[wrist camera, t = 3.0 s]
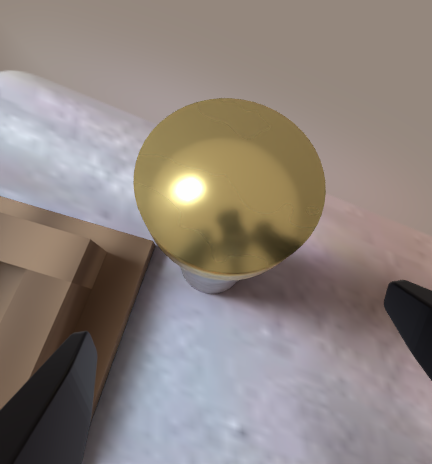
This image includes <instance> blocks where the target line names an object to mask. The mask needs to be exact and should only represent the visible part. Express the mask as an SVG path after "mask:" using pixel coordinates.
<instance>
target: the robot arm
mask: <svg viewBox="0 0 432 464" xmlns="http://www.w3.org/2000/svg"><path fill="white" fill-rule="evenodd" d="M384 307H385V310H386V311H387V313H388V315H389V316H390V318H391V320H392V321H393V323H394V325H395V326H396V328H397V330H398V331H399V333H400V335H401V336H402V338H403V340H404V341H405V343H406V345H407V346H408V348H409V350H410V351H411V353H412V354H413V356H414V357H415V359H416V360H417V361H418V363H419V364H420V366H421V367H422V368H423V370H424V371H425V372H426V374H427V375H428V376H429V378H430V379H431V381H432V291H431V290H428V289H426V288H423V287H421V286H419V285H416V284H414V283H411V282H409V281H406V280H398V281H392V282H390V283H389V285H388V288H387V292H386V295H385V299H384ZM96 367H97V350H96V348H95V345H94V342H93V340H92V337H91V335H90V333H89V332H88V331H81V332H75V333H72V334H71V335H70V336H69V337H68V338H67V339H66V340H65V341H64V342H63V343H62V344H61V345H60V347H59V348H58V349H57V350H56V351H55V352H54V353H53V354H52V355H51V356H50V357H49V358H48V359H47V360H46V361H45V363H44V364H43V365H42V366H41V367H40V368H39V369H38V370H37V371H36V372H35V373H34V374H33V375H32V376H31V378H30V379H29V380H28V381H27V382H26V383H25V384H24V385H23V386H22V387H21V388H20V389H19V390H18V391H17V393H16V394H15V395H14V396H13V397H12V398H11V399H10V400H9V401H8V402H7V403H6V404H5V405H4V406H3V407H2V409H1V410H0V464H82V459H83V454H84V450H85V445H86V440H87V435H88V431H89V426H90V420H91V415H92V407H93V397H94V387H95V377H96Z"/></svg>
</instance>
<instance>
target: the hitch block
mask: <svg viewBox="0 0 432 464" xmlns="http://www.w3.org/2000/svg"><path fill="white" fill-rule="evenodd" d="M154 247H155V244H154V242H153V241H151V240H147V239H144V238H140V237H137V236H134V235H130V234H127V233H123V232H120V231H117V230H113V229H110V228H106V227H103V226H100V225H96V224H93V223H89V222H86V221H83V220H79V219H76V218H72V217H69V216H66V215H62V214H59V213H55V212H52V211H49V210H45V209H42V208H39V207H35V206H32V205H28V204H25V203H22V202H18V201H15V200H11V199H8V198H5V197H1V196H0V410H1V409H2V407H3V406H4V405H5V404H6V403H7V402H8V401H9V400H10V399H11V398H12V397H13V396H14V395H15V394H16V393H17V391H18V390H19V389H20V388H21V387H22V386H23V385H24V384H25V383H26V382H27V381H28V380H29V379H30V378H31V376H32V375H33V374H34V373H35V372H36V371H37V370H38V369H39V368H40V367H41V366H42V365H43V364H44V363H45V361H46V360H47V359H48V358H49V357H50V356H51V355H52V354H53V353H54V352H55V351H56V350H57V349H58V348H59V347H60V345H61V344H62V343H63V342H64V341H65V340H66V339H67V338H68V337H69V336H70V335H71V334H72V333H75V332H81V331H88V332H89V333H90V335H91V337H92V340H93V342H94V345H95V348H96V350H97V367H96V377H95V387H94V397H93V407H92V415H91V420H92V417H93V415H94V412H95V409H96V406H97V404H98V401H99V398H100V395H101V393H102V390H103V387H104V384H105V382H106V379H107V376H108V373H109V371H110V368H111V365H112V362H113V360H114V357H115V354H116V351H117V349H118V346H119V343H120V340H121V338H122V335H123V332H124V329H125V327H126V324H127V321H128V318H129V316H130V313H131V310H132V307H133V305H134V302H135V299H136V297H137V294H138V291H139V288H140V286H141V283H142V280H143V277H144V275H145V272H146V269H147V266H148V264H149V261H150V258H151V255H152V253H153V250H154ZM91 420H90V423H91Z"/></svg>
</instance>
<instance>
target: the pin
mask: <svg viewBox="0 0 432 464" xmlns="http://www.w3.org/2000/svg"><path fill="white" fill-rule="evenodd" d="M134 192H135V198H136V202H137V206H138V209H139V211H140V214H141V216H142V218H143V220H144V222H145V224H146V226H147V228H148V230H149V232H150V234H151V235H152V237H153V239H154V240H155V242H156V244H157V245H158V246H159V248H160V249H161V250H162V251H163V253H164V254H165V255H166V256H168V257H169V258H170V259H171V260H172V261H173V262H174V263H176V264H177V265H179V266H180V267H181V270H182V273H183V276H184V278H185V279H186V281H187V282H188V283H189V284H190V285H191V286H192V287H193V288H195V289H196V290H198V291H201V292H204V293H210V294H215V293H220V292H223V291H226V290H228V289H229V288H231V287H232V286H233V285H234V284H235V283H236V282H237V281H238V280H241V279H247V278H251V277H254V276H257V275H260V274H262V273H264V272H266V271H268V270H270V269H272V268H273V267H275V266H276V265H278V264H279V263H280V262H282V261H283V260H285V259H286V258H287V257H289V256H290V255H291V254H293V253H294V252H295V251H296V250H297V249H299V248H300V247H301V246H302V245H303V244H304V243H305V241H306V240H307V239H308V238H309V237H310V236H311V234H312V232H313V231H314V229H315V227H316V226H317V224H318V221H319V219H320V217H321V214H322V211H323V207H324V202H325V193H326V191H325V177H324V172H323V168H322V165H321V161H320V159H319V157H318V154H317V152H316V150H315V148H314V147H313V145H312V144H311V142H310V140H309V139H308V138H307V137H306V135H305V134H304V133H303V132H302V131H301V130H300V129H299V128H298V127H297V126H296V125H295V124H294V123H293V122H291V121H290V120H289V119H288V118H286V117H285V116H283V115H282V114H280V113H278V112H277V111H275V110H273V109H271V108H268V107H266V106H264V105H261V104H257V103H255V102H251V101H246V100H241V99H232V98H219V99H210V100H204V101H200V102H196V103H193V104H190V105H188V106H185V107H183V108H181V109H179V110H177V111H175V112H174V113H172V114H171V115H169V116H168V117H167V118H165V119H164V120H163V121H162V122H160V123H159V124H158V125H157V126H156V127H155V128H154V129H153V131H152V132H151V133H150V134H149V136H148V137H147V139H146V140H145V142H144V144H143V146H142V148H141V150H140V152H139V155H138V158H137V160H136V165H135V170H134Z"/></svg>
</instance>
